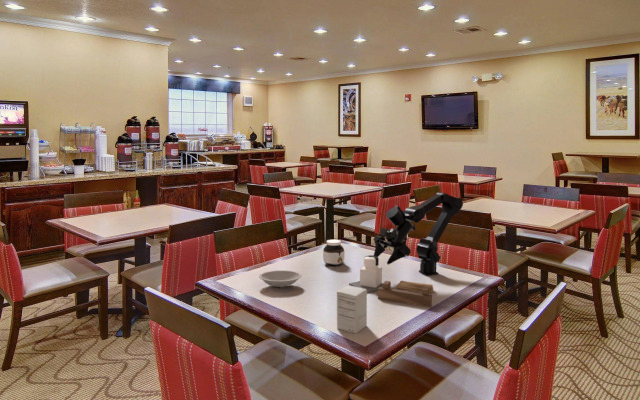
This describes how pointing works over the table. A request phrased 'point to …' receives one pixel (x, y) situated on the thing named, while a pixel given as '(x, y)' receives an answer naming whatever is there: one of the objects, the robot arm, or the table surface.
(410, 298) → the walnut rack
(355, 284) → the rubber mat
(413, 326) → the table surface
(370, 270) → the medicine bottle
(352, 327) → the supplement box
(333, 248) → the spread jar
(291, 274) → the dish
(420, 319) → the table surface
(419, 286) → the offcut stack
